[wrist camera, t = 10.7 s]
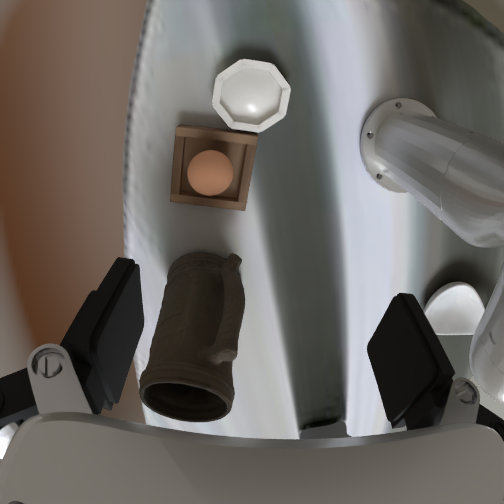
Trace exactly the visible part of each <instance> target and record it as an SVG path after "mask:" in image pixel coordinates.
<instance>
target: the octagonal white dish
mask: <svg viewBox="0 0 504 504" xmlns="http://www.w3.org/2000/svg"><path fill="white" fill-rule="evenodd" d="M217 76H218V77H216V80H215V86H214V92H213V99H212V104H214V105H213V108H214V109H215V110H216V111H217V113H218V114H219V115H220V116H221V118H222V119H223V120H224V121H225V123H226V124H227V125H228V127H229V128H230V127H231V129H238V130H245V131H252V132H258V133H259V132H262V131H264V130H265V129H267V128H268V127H270V126H271V125H273V124H274V123H276V122H278V121H279V120H281V119H282V118H284V115H286V111H287V106H288V101H289V96H290V91H291V89H290V86H289V84H288V83H287V81H286V80H285V79H284V77H283V76H282V75H281V73H280V72H279V71H278V69H277V68H276V67H275V65H272V63H267V62H261V61H255V60H249V59H243V61H242V60H241V59H240V60H239V61H237V62H236V63H234V64H233V65H231V66H230V67H228V68H227V69H226V70H224V71H223V72H221V73H220V74H218V75H217Z"/></svg>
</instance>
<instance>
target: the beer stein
mask: <svg viewBox="0 0 504 504" xmlns="http://www.w3.org/2000/svg"><path fill="white" fill-rule="evenodd" d="M241 262H242V259H241V258H240V257H239V256H238V255H236V254H234V253H232V254H230V255H229V256H228V258H227V260H224V259H223V258H220V257H218V256H215V255H212V254H206V253H193V254H188V255H186V256H183V257H181V258H179V259H178V260H176V261H175V262H174V263H173V265H172V266H171V268H170V270H169V273H168V277H167V284H166V286H165V290H164V297H163V301H162V307H161V310H160V314H159V318H158V322H157V326H156V329H155V333H154V336H153V339H152V344H151V347H150V357H149V362H148V364H147V367H146V369H145V370H144V371H143V372H142V374H141V377H140V380H139V382H140V389H139V395H140V398H141V400H142V402H143V403H144V404H145V405H146V406H147V407H148V408H150V409H151V410H152V411H154V412H156V413H158V414H160V415H163V416H166V417H169V418H172V419H175V420H180V421H187V422H210V421H215V420H219V419H221V418H223V417H225V416H226V415H227V414H228V413H229V412H230V411H231V408H232V403H233V400H234V394H235V392H234V387H233V377H232V361H233V360H234V359H235V358H236V357H237V350H238V338H239V332H240V328H241V324H242V319H243V314H244V309H245V294H244V288H243V285H242V281H241V277H240V275H239V273H238V271H237V270H238V268H239V266H240V264H241Z"/></svg>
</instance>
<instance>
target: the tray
mask: <svg viewBox="0 0 504 504" xmlns="http://www.w3.org/2000/svg"><path fill="white" fill-rule="evenodd" d="M257 141H258V135H257V134H252V133H246V132H239V131H232V130H224V129H216V128H207V127H198V126H188V125H179V126H177V127H176V136H175V146H174V157H173V169H172V182H171V198H170V202H177V203H186V204H194V205H202V206H210V207H218V208H226V209H233V210H241V211H245V209H246V203H247V197H248V191H249V186H250V180H251V174H252V169H253V163H254V157H255V152H256V146H257ZM207 150H214V151H218V152H221V153H223V154H224V155H225V156H227V158H228V159H229V160H230V162H231V164H232V166H233V179H232V182H231V184H230V185H229V187H228V188H227V189H226V190H225V191H223V192H222V193H220V194H217V195H213V196H207V195H203V194H200V193H198V192H197V191H196V190H194V189H193V188H192V186H191V185H190V183H189V180H188V175H187V171H188V166H189V164H190V162H191V160H192V159H193V158H194V157H195V156H196V155H197V154H199V153H201V152H203V151H207Z"/></svg>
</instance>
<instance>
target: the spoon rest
mask: <svg viewBox="0 0 504 504" xmlns="http://www.w3.org/2000/svg"><path fill="white" fill-rule="evenodd" d="M484 311H485V308H484V306H483V303H482V301H481V299H480V297H479V295H478V293H477V292H476V290H475V289H474V288H473V287H472V286H471V285H469V284H467V283H464V282H452V283H449V284H446V285H444V286H442V287H441V288H440V289H438V290H437V291H436V292H435V293H434V294H433V295H432V296H431V298H430V299H429V301H428V302H427V304H426V307H425V309H424V314H425V315H426V317H427V319H428V321H429V323H430V324H431V326H432V328H433V330H434V332H435V334H438V335H474V333H475V331H476V328H477V326H478V324H479V322H480V319H481V317H482V315H483V313H484Z"/></svg>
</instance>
